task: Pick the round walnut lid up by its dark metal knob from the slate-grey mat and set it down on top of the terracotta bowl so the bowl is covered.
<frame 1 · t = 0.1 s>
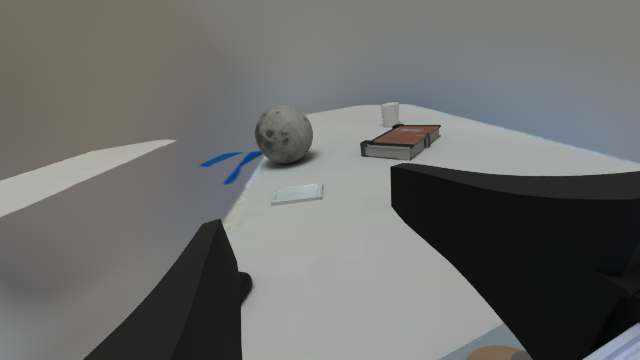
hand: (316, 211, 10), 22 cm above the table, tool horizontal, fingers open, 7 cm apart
moon model: (290, 162, 92), on the table
book: (403, 147, 87), on the table
hard drive: (299, 197, 64), on the table
white cup: (391, 126, 119), on the table
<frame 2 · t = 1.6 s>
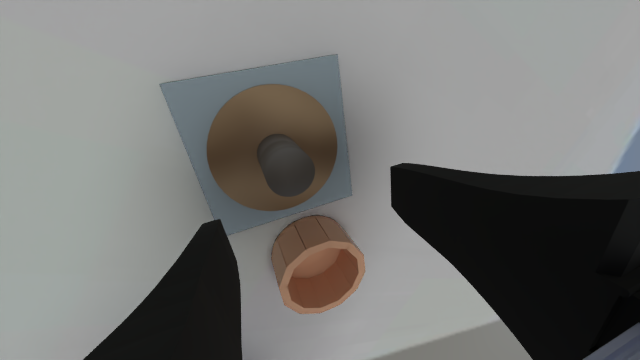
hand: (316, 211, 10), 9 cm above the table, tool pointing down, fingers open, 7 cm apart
bowl: (309, 248, 23), on the table
mat: (274, 149, 18), on the table
lid: (276, 151, 18), resting on mat
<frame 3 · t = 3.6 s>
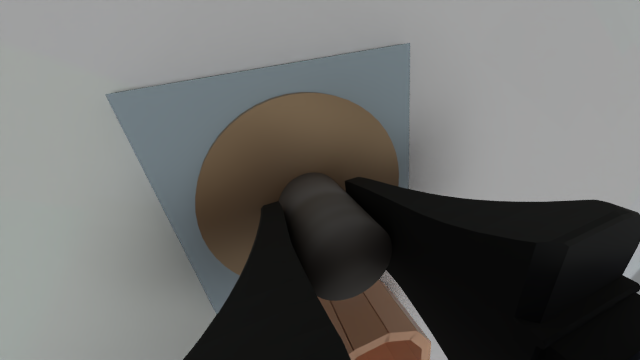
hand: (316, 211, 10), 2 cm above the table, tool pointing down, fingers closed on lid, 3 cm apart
bowl: (343, 317, 17), on the table
mat: (303, 192, 12), on the table
lid: (306, 196, 11), point 1 cm above the table, touching gripper, mat
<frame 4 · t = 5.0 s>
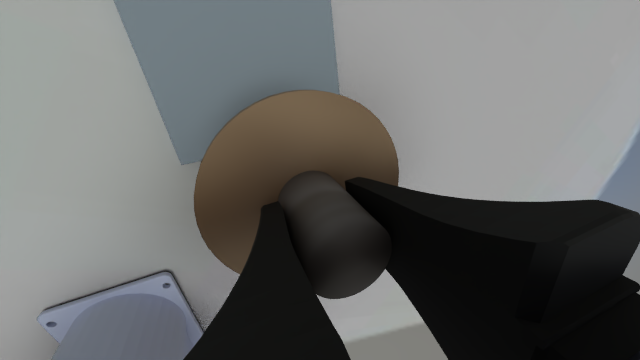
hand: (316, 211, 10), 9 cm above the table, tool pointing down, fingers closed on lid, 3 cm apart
mat: (246, 55, 15), on the table
lid: (305, 194, 11), point 7 cm above the table, touching gripper
when the fingers open (6 cm above the table, at t = 6.4 s): lid stays where it is, point 4 cm above the table.
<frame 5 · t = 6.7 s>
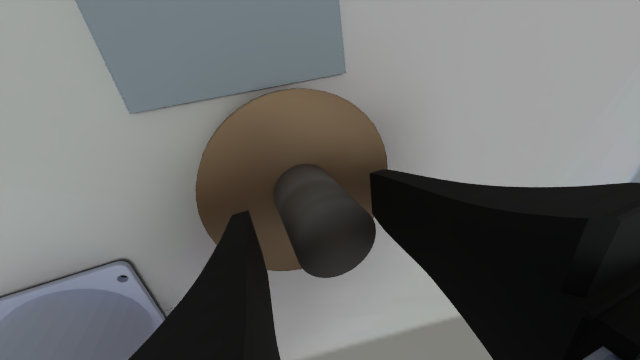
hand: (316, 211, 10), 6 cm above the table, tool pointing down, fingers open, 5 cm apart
lid: (300, 187, 12), point 4 cm above the table
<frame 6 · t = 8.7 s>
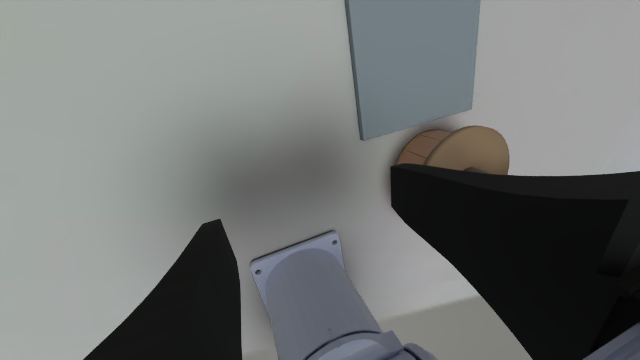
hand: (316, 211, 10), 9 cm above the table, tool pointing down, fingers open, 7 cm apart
bowl: (425, 166, 24), on the table
mat: (416, 53, 19), on the table
lid: (460, 181, 20), point 4 cm above the table
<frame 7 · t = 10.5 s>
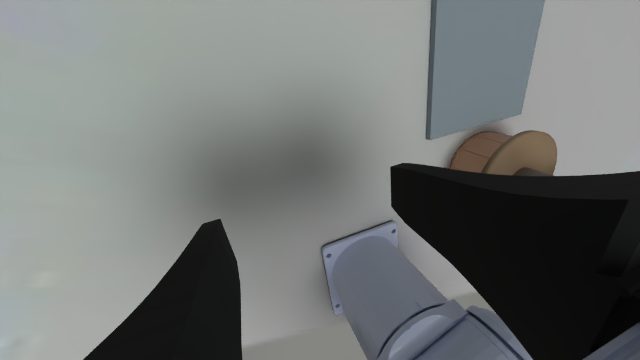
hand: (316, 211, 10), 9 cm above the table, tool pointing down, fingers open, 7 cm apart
bowl: (474, 164, 26), on the table
mat: (481, 62, 22), on the table
lid: (512, 179, 23), point 4 cm above the table
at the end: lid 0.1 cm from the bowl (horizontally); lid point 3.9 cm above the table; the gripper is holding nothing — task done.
